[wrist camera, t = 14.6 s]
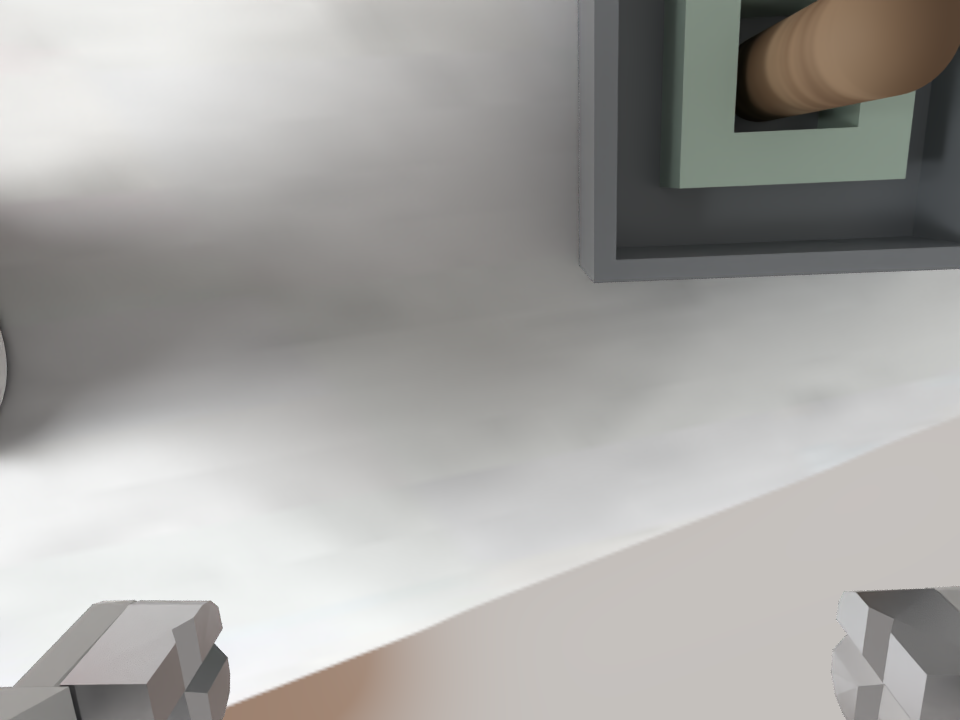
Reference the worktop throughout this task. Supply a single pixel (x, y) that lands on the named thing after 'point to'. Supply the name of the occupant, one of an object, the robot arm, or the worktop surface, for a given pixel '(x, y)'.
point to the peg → (844, 55)
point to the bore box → (748, 158)
